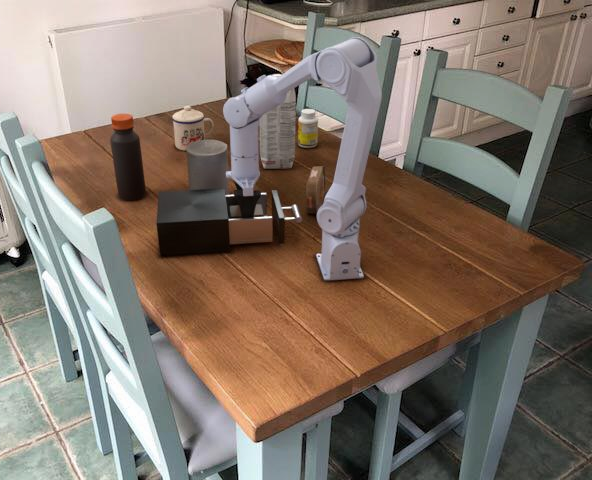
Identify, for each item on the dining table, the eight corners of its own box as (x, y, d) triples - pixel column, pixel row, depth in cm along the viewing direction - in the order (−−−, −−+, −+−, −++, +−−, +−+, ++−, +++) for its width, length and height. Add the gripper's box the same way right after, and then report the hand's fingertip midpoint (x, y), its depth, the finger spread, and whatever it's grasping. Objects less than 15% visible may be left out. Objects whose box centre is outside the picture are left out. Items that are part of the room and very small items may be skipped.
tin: (317, 220, 145) (318, 187, 141) (303, 219, 146) (304, 185, 141) (325, 192, 158) (327, 160, 153) (313, 190, 158) (314, 159, 154)
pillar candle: (184, 195, 156) (179, 138, 148) (220, 187, 160) (217, 131, 152) (198, 212, 149) (194, 152, 141) (236, 203, 153) (234, 144, 144)
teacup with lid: (181, 153, 178) (177, 113, 172) (170, 143, 185) (166, 104, 179) (220, 146, 183) (218, 107, 177) (208, 136, 190) (206, 98, 184)
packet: (263, 231, 137) (263, 214, 135) (231, 232, 136) (230, 216, 134) (261, 220, 141) (261, 203, 139) (230, 221, 141) (229, 205, 138)
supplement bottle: (301, 140, 186) (302, 106, 181) (319, 142, 185) (320, 108, 179) (295, 147, 182) (296, 112, 176) (313, 149, 180) (315, 115, 175)
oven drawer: (294, 213, 146) (295, 188, 143) (304, 242, 135) (305, 216, 132) (218, 217, 145) (216, 193, 141) (221, 248, 133) (219, 221, 130)
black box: (226, 219, 146) (224, 187, 141) (230, 252, 133) (228, 218, 129) (162, 223, 144) (158, 191, 140) (160, 257, 132) (156, 223, 128)
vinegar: (119, 202, 153) (107, 123, 142) (117, 190, 159) (106, 113, 148) (147, 199, 155) (138, 120, 144) (144, 187, 160) (135, 110, 149)
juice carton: (293, 158, 176) (294, 71, 163) (295, 170, 169) (297, 80, 156) (259, 158, 175) (258, 72, 162) (260, 170, 169) (259, 81, 156)
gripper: (223, 140, 135) (225, 197, 143) (227, 168, 123) (229, 228, 130) (256, 138, 136) (256, 195, 143) (263, 166, 124) (263, 226, 131)
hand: (246, 211), depth 137 cm, fingers open, 7 cm apart
